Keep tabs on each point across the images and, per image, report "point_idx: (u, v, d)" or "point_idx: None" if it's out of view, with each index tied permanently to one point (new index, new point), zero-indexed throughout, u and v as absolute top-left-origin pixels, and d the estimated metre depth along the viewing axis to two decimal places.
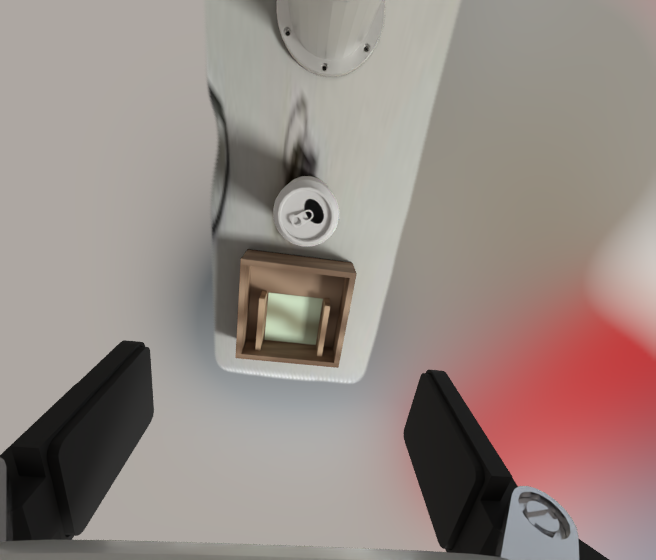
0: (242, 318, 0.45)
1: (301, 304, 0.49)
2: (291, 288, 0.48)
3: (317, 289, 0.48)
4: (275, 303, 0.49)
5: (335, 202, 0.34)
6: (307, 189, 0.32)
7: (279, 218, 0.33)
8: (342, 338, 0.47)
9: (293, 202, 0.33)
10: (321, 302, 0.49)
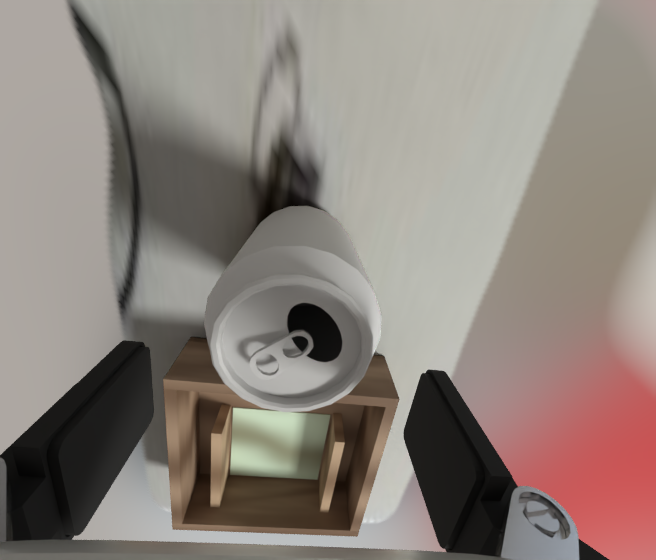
0: (178, 473, 0.24)
1: (293, 424, 0.28)
2: None
3: None
4: (245, 424, 0.28)
5: (373, 302, 0.12)
6: (295, 282, 0.11)
7: (215, 357, 0.12)
8: (366, 497, 0.26)
9: (255, 312, 0.11)
10: (328, 419, 0.28)
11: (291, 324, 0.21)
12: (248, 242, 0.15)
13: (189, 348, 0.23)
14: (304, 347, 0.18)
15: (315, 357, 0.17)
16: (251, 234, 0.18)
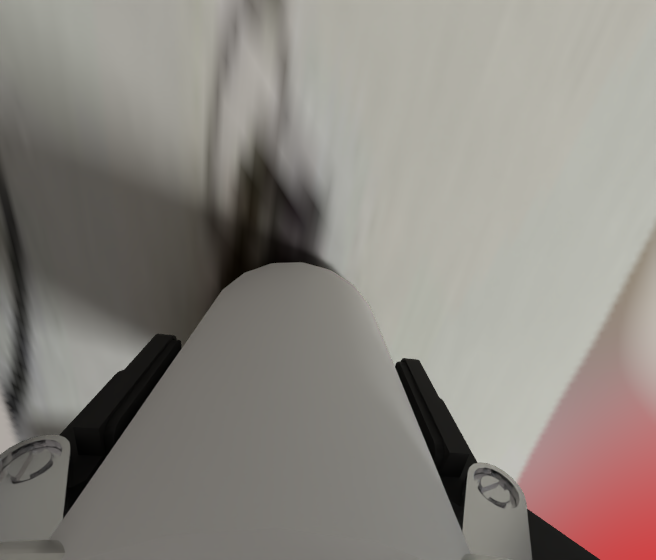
0: None
1: None
2: None
3: None
4: None
5: None
6: None
7: None
8: None
9: None
10: None
11: None
12: (166, 381, 0.07)
13: None
14: None
15: None
16: None
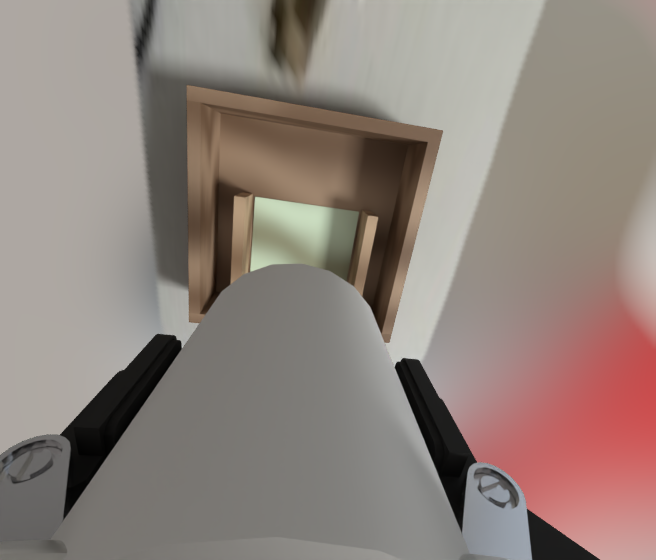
0: (198, 235, 0.21)
1: (319, 224, 0.26)
2: (299, 188, 0.25)
3: (349, 191, 0.25)
4: (267, 220, 0.26)
5: None
6: None
7: None
8: (401, 282, 0.23)
9: None
10: (356, 219, 0.26)
11: None
12: (165, 384, 0.07)
13: None
14: None
15: None
16: None
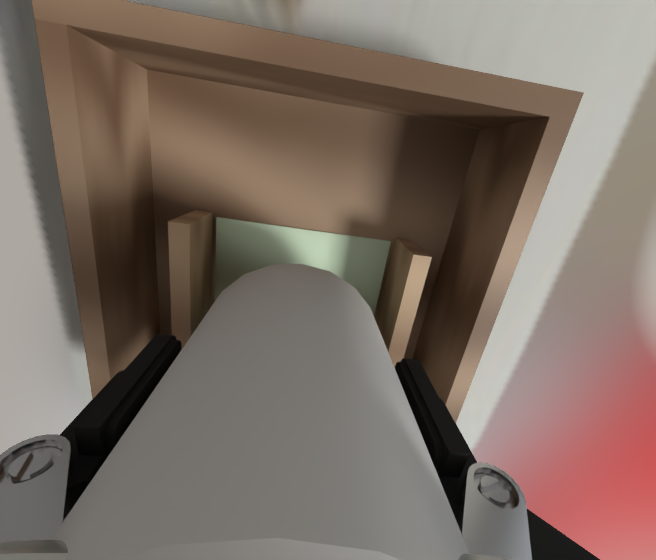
0: (98, 298, 0.11)
1: (324, 261, 0.16)
2: (291, 203, 0.15)
3: (376, 208, 0.15)
4: (239, 256, 0.15)
5: None
6: None
7: None
8: (470, 371, 0.13)
9: None
10: (385, 252, 0.16)
11: None
12: (165, 384, 0.07)
13: None
14: None
15: None
16: None
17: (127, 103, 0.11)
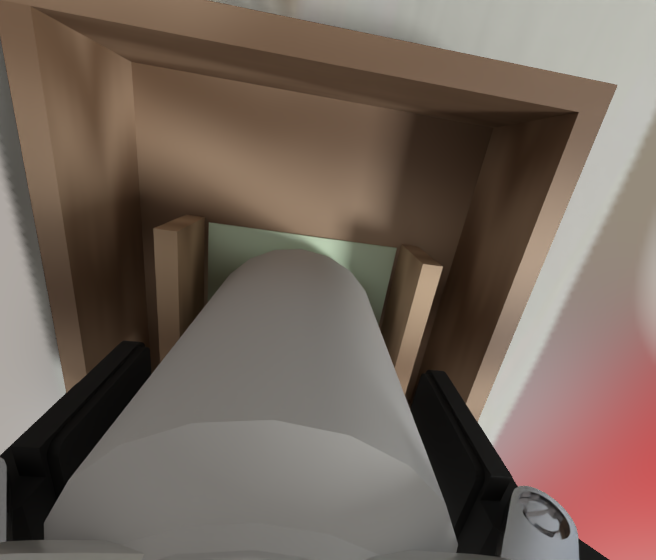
0: (75, 313, 0.10)
1: None
2: (289, 207, 0.14)
3: (380, 213, 0.14)
4: (233, 264, 0.14)
5: (444, 533, 0.05)
6: None
7: None
8: (485, 390, 0.12)
9: None
10: (390, 260, 0.15)
11: None
12: (183, 340, 0.08)
13: None
14: None
15: None
16: (205, 305, 0.11)
17: (108, 98, 0.10)
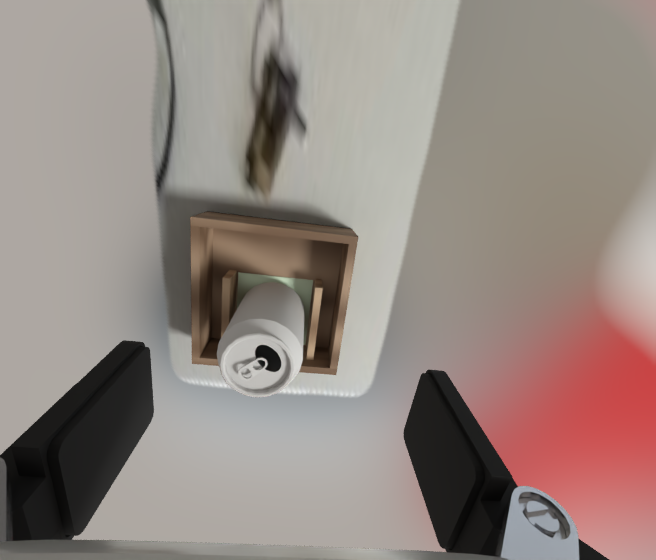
0: (198, 306, 0.32)
1: None
2: (269, 265, 0.35)
3: (305, 267, 0.35)
4: (247, 288, 0.36)
5: (296, 342, 0.27)
6: (256, 336, 0.25)
7: (222, 370, 0.26)
8: (340, 333, 0.33)
9: (240, 349, 0.26)
10: (311, 285, 0.36)
11: (265, 352, 0.34)
12: (238, 311, 0.29)
13: (206, 213, 0.32)
14: (271, 366, 0.32)
15: (276, 371, 0.31)
16: (240, 303, 0.32)
17: (208, 236, 0.32)
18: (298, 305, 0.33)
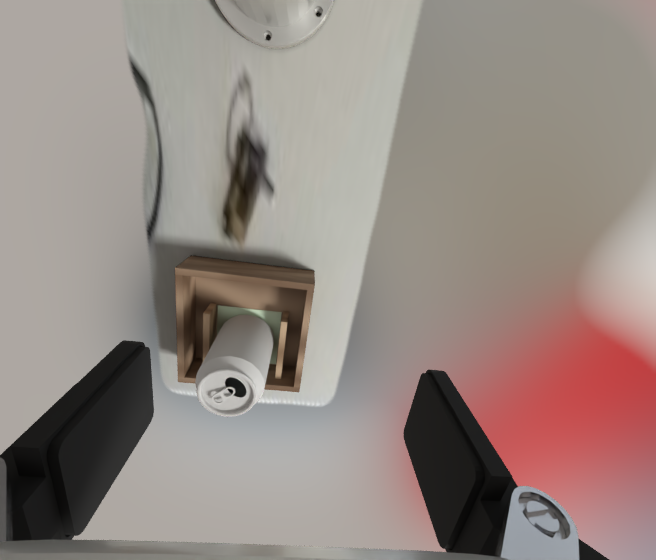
0: (182, 337, 0.38)
1: None
2: (244, 300, 0.42)
3: (274, 301, 0.42)
4: (226, 318, 0.42)
5: (258, 374, 0.33)
6: (225, 372, 0.31)
7: (199, 397, 0.32)
8: (302, 359, 0.40)
9: (213, 380, 0.32)
10: (280, 316, 0.43)
11: None
12: (214, 345, 0.36)
13: (190, 259, 0.38)
14: (243, 386, 0.39)
15: None
16: (218, 334, 0.39)
17: (191, 278, 0.38)
18: (266, 336, 0.40)
